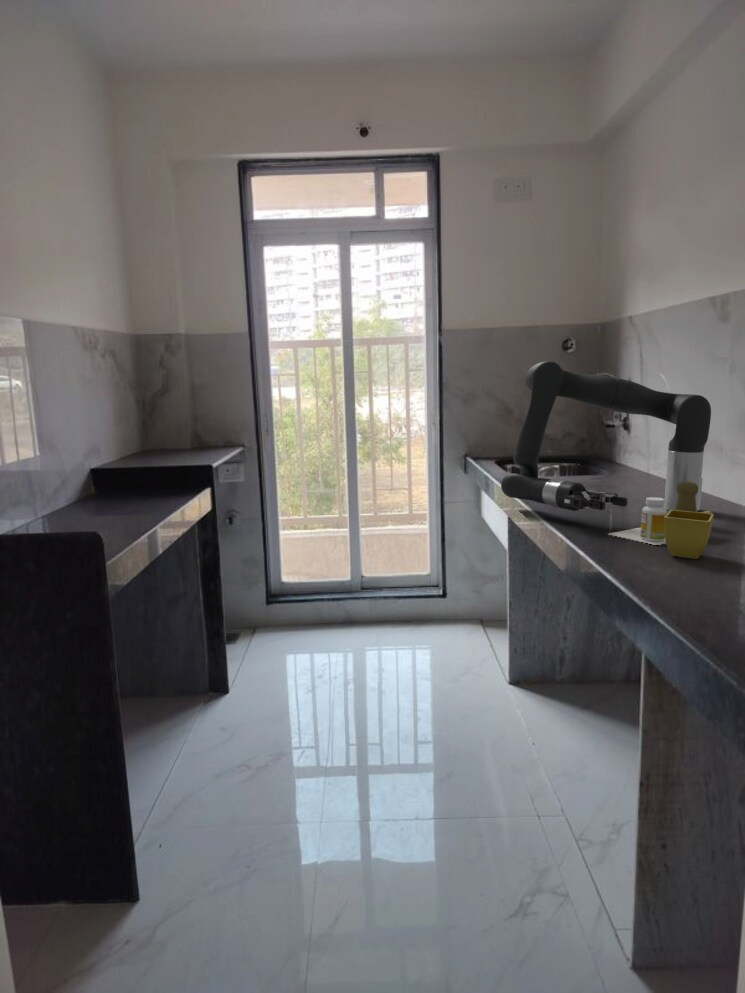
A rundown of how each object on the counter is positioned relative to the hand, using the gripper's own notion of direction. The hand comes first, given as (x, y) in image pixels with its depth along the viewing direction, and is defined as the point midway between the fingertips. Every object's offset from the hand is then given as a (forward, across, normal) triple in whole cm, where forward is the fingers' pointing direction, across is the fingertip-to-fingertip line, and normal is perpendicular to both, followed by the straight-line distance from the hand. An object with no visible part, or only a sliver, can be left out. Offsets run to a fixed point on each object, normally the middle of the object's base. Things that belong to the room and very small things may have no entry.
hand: (615, 504), depth 162 cm
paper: (+8, +5, +7) cm, 12 cm away
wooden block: (+15, +12, +7) cm, 20 cm away
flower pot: (+23, -6, +7) cm, 25 cm away
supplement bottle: (+11, 0, +7) cm, 13 cm away
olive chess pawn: (+4, +24, +7) cm, 25 cm away
